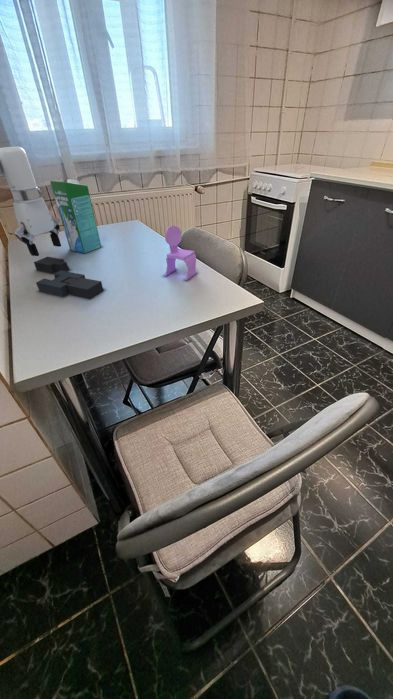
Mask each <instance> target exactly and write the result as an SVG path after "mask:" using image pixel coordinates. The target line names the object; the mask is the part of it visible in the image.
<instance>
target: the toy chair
mask: <svg viewBox="0 0 393 699" xmlns="http://www.w3.org/2000/svg"><path fill="white" fill-rule="evenodd" d="M164 240H165V243H166V244H168V245H169V251H170V252H168V253H167V254H166V258H165V259H166V260H165V261H166V270H165V274H164V277H167V276H168V275H170V274H171V273H173V272H175V271H176V270H177V267H176V260H180V261H183V262H184V263H185V265H186V267H187V274H186V277H185V281H188V280H189V279H191V278H192V277H193V276H195V275H196V274H197V268H196V267H197V255H196V252H195V250H189V249H183V248H179V247H178V246H179V244H180V243H181V241H182V230H181V228H180V227H179V226H176V225H170V226H168V227H167V228H166V230H165V234H164Z"/></svg>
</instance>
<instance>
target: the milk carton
mask: <svg viewBox="0 0 393 699" xmlns="http://www.w3.org/2000/svg"><path fill="white" fill-rule="evenodd" d="M49 182H50V186H51V190H52V192H53V196H54V200H55V203H56V206H57V209H58V213H59V217H60V220H61V224H62V227H63V230H64V234H65V237H66V240H67V244H68V247H69V250H70V251H74V252H78V253H81V254H86V253H88V252H91V251H94V250H97V249H99V248H102V244H101V238H100V235H99V230H98V227H97V226H98V225H97V222H96V217H95V213H94V208H93V203H92V199H91V194H90V191H89V185H86V184H80V183H79V180H76V179H66V181H59V180H56V181H55V180H49Z"/></svg>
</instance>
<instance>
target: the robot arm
mask: <svg viewBox="0 0 393 699" xmlns="http://www.w3.org/2000/svg"><path fill="white" fill-rule="evenodd" d="M32 169H33V168H32V167H31V163H30V160H29V158H28V155H27V153H26V150H25V149H24V148H23V147H21V146H5V147H0V177H4V178H5V179H6V182H7V185H8V187H9V190H10V192H11V194H12V198H13V200H14V202H12V205H13V211H14V215H15V218H16V222H17V225H18V226H17V228H16V229H15V231H14V232H13V235H14V236H15V237H16V238H17V239H18V240H19V241H20V242H22V243H24V244H25V245H26V247H27V249H28V252H29V253H30V255H31V256H33V257H39V256H40V254H39V250H38V248H37V245H36V243H34V240H35V237H38V236H41V235H43V234H46V233H50V234H49V237H50V239H51V240H50V241H51V242H52V246H53V247H62V244H61V241H60V240H61V239H60V237H59V234H60V232H59V231H60V227H61V226H60V218H58V217H55V216H52V214H51V212H50V210H49V208H48V205H47V203H46V202H45V200H44V198H43V197H42V196H41V194H42V189H41V188H40V187H38V184H37V182H36V179H35V175H34V173H33V170H32Z"/></svg>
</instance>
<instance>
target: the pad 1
mask: <svg viewBox="0 0 393 699" xmlns="http://www.w3.org/2000/svg"><path fill="white" fill-rule="evenodd" d="M33 264H34V267H35V269H36V271H38V272H42V273H48V274H55V273H57V272H59V271H61V270H62V271H67V272H69V271H70V268H69V265H68V262H67V261H65V260H64V258H58V257H52V256H51V257H50V256H45V257H43V258H41V259H38V260H35V261H34V262H33Z"/></svg>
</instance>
